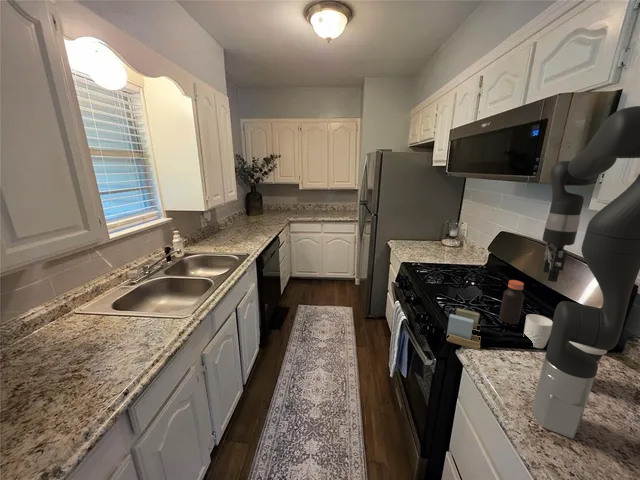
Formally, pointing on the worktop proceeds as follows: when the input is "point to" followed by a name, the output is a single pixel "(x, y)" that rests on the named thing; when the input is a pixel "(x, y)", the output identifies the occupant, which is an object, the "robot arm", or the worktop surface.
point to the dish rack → (475, 339)
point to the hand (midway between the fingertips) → (549, 276)
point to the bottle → (512, 302)
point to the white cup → (538, 329)
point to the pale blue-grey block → (460, 326)
